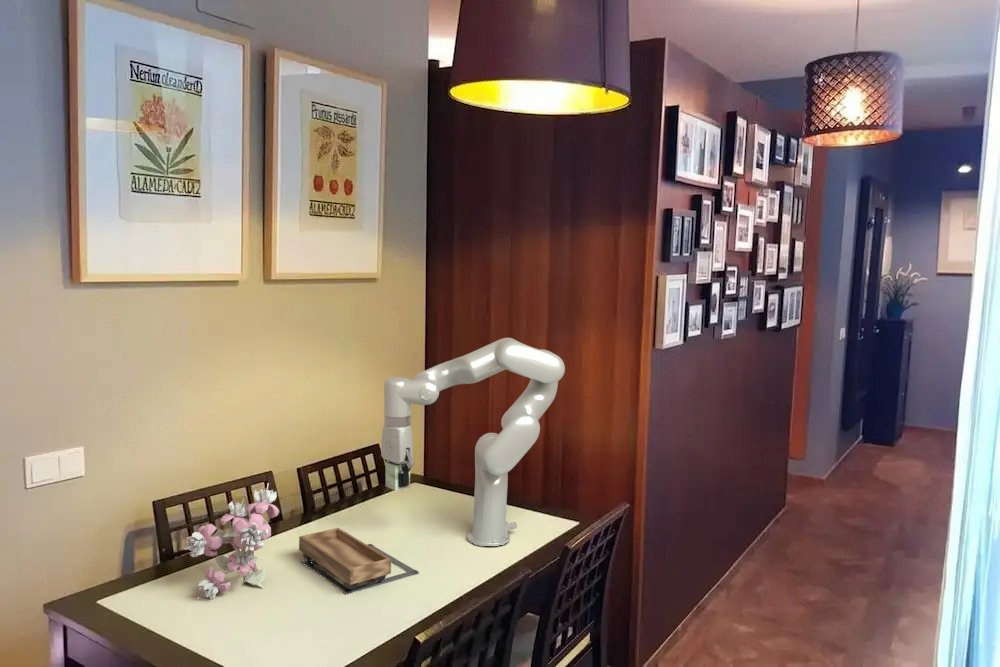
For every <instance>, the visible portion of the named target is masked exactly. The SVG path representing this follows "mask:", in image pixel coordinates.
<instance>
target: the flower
mask: <svg viewBox="0 0 1000 667" xmlns="http://www.w3.org/2000/svg"><path fill="white" fill-rule="evenodd" d="M266 484H267V486H266V488H264V489H262V488H261V489H260V490H259V491H257V489H256V488H255V489H254V492H253V499H254V500H255V501H256V502H254V503H250V504H247V505H246V503H244V500H245V497H243V498H242V501H241V503H240V502H238V501H237V502H235V505H234V502H233V501H230V502H229V503H228V506H227V508H228V510H229V513H225V514H224V515H222V516H221V518H220V525H221V526H225V525H226V524H227V523H228V522H229V521H231V520H232V524H231V527H230V529H229V530H227V531H226V530H223V529H221V528H219V529H218V530H217V527H216V526H215V525H214V524H212V523H209V524H208V523H207V524H205V525H202V526H200V527H198V528H197V531H194V532H193V533H192V534H191V536H188V537H185V538H186V540H189V541H186V544H187V545H185V547H184V548H182V549H183V550H185V551H190V552H189V555H190V556H191V557H192V558H197V557H199V556H201V555H203V554H204V555H205V556H207V557H215V556H216V557H215V565H217V566H218V567H219V568H220V569H222V570H221V571H220V570H219V571H215V572H213V569H214V566H210V567H208V568H207V569H206V570H205V578H206V579H203V580H201V581H199V583H198V588H197V589H198V590H197V591H198V592H199V593H198V594H202V595H203V598H205V597H206V598H208V599H209V598H211V599H210V600H213V599H214V598H213V597H215V598H216V594H218V592H219V591H220V592H226V591H230V588H231V585H232V582H231V581H229V582H224V579H225V577H226V574H227V573H229V572H230V573H233V572H236V571H239V576H244V581H245V582H246V583H249V584H251V585H252V586H259V587H260V588H261V587H264V585H263V582H264V580H265V579H266V578H267V573H268V570H267V569H260V570H259V568H257V563H256V562H257V561H259V560H260V558H259V557H257V556H255V551H258V550H259V549H262V548H263V546H265V543H264V542H262V540H263V541H264V540H268V539H269V538H270V537H271V536H272V527H271V526H270V524H269V522H268V521H267V520H265V518H264V517H263V514H264V513H265V512H266V513H267V514H266V515H267V517H268V518H269V519H273V518H276V517H277V516H278V515H279V514H280V510H279V508H278V507H277V506H276V505H274V504H272V503H273V502H275V501H276V499H277V496H278V495H277V491H274V489H271V490H269V484H270V483H269V482H268V483H266ZM243 504H244V505H243ZM250 513H251V514H250ZM246 516H249V519H248V518H245V517H246ZM216 530H217V531H216ZM224 544H225V545H226V544H230V545H231V546H232V547H233V549H234V551H233V552H232V553H231V554H230V555H228V557H227V556H224V555H222V554H221V555H218V551H216V550H218V549H219V548H220V547H221V546H222V545H224ZM246 548H248V549H246ZM213 550H214V551H213ZM223 571H225V573H224V572H223ZM245 582H244V583H245ZM212 598H213V599H212ZM199 599H200V596H199V597H197V600H199Z"/></svg>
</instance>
